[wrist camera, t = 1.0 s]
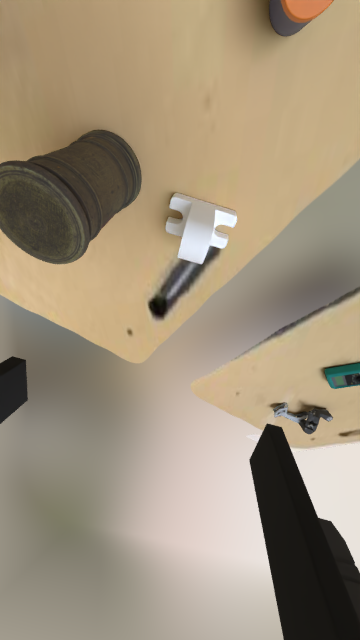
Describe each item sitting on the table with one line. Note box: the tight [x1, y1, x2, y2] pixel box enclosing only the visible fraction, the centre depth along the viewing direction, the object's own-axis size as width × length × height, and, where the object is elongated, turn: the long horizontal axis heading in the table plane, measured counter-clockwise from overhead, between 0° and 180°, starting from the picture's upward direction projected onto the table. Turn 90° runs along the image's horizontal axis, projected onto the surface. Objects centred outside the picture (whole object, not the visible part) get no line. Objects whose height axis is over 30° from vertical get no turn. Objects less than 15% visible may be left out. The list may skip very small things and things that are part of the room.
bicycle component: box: [273, 403, 333, 434], centre depth 71 cm, size 12×7×15 cm
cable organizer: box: [165, 193, 237, 264], centre depth 30 cm, size 5×10×10 cm, turn 77°
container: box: [0, 130, 141, 264], centre depth 25 cm, size 9×9×18 cm
